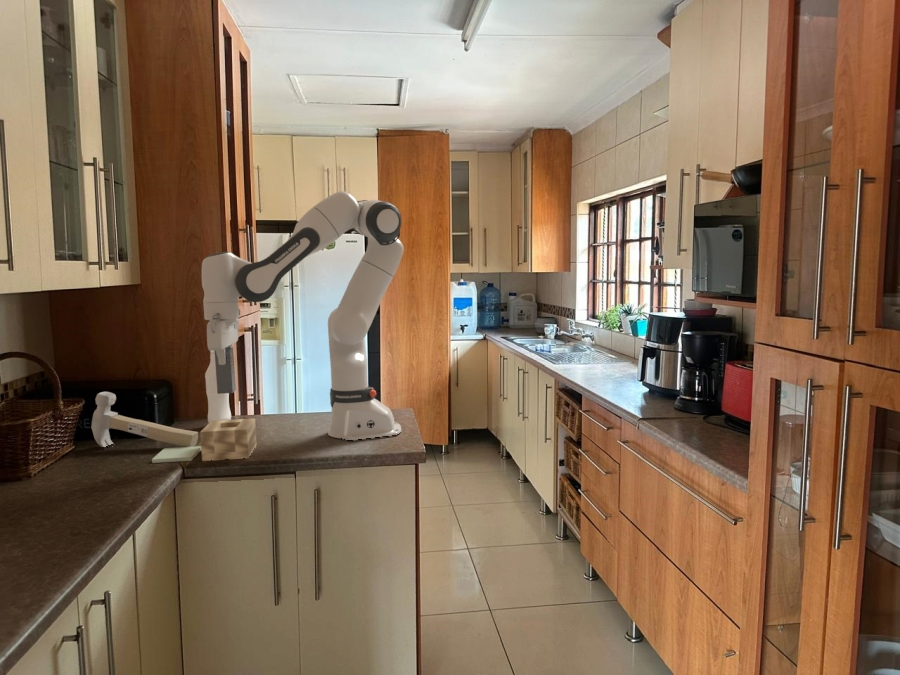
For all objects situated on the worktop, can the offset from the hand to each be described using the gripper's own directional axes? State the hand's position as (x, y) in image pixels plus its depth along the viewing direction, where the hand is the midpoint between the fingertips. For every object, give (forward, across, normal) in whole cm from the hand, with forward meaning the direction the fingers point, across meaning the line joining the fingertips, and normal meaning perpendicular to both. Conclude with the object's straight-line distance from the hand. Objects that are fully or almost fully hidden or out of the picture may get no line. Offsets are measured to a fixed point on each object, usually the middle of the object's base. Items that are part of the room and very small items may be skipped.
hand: (225, 362), depth 163 cm
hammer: (+26, +10, +26) cm, 38 cm away
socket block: (+25, 0, 0) cm, 25 cm away
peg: (+8, 0, 0) cm, 8 cm away
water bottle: (+26, +31, +10) cm, 41 cm away
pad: (+25, 0, +14) cm, 29 cm away
